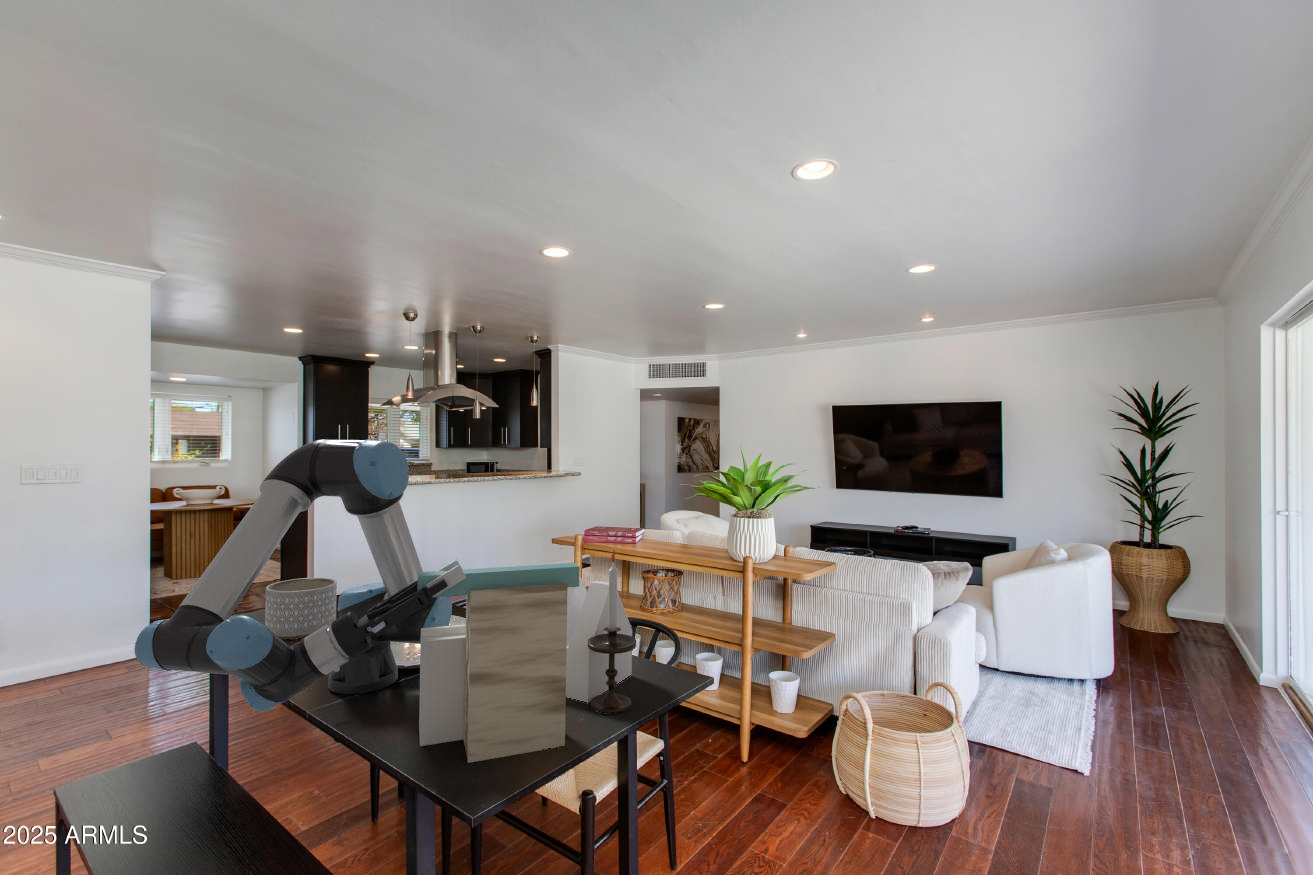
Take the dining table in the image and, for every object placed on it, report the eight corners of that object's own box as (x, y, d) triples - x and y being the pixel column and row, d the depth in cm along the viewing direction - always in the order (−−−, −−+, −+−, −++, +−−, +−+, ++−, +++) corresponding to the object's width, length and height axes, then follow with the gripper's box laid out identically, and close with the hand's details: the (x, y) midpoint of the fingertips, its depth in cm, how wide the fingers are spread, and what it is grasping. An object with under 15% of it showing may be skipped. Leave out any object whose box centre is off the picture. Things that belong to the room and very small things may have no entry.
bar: (417, 593, 116) (417, 572, 116) (574, 582, 127) (574, 562, 127) (417, 598, 112) (418, 576, 112) (579, 586, 123) (579, 566, 123)
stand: (463, 740, 121) (466, 580, 121) (554, 725, 128) (557, 574, 128) (467, 762, 113) (471, 591, 113) (564, 745, 119) (567, 584, 120)
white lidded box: (419, 725, 127) (420, 628, 127) (508, 712, 134) (509, 620, 134) (420, 746, 118) (421, 641, 119) (515, 731, 125) (516, 632, 125)
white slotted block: (581, 664, 163) (583, 570, 164) (631, 675, 156) (633, 576, 156) (534, 689, 146) (536, 584, 147) (587, 703, 139) (589, 592, 139)
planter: (284, 646, 174) (285, 594, 174) (252, 633, 184) (253, 585, 184) (348, 629, 190) (349, 582, 190) (315, 619, 200) (316, 575, 200)
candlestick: (636, 715, 133) (638, 553, 133) (585, 716, 132) (588, 553, 133) (634, 695, 144) (636, 544, 144) (587, 695, 143) (589, 544, 143)
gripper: (355, 643, 118) (467, 575, 126) (347, 676, 101) (476, 595, 109) (334, 610, 117) (448, 543, 124) (322, 639, 100) (454, 560, 108)
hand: (461, 568), depth 117 cm, fingers open, 5 cm apart
